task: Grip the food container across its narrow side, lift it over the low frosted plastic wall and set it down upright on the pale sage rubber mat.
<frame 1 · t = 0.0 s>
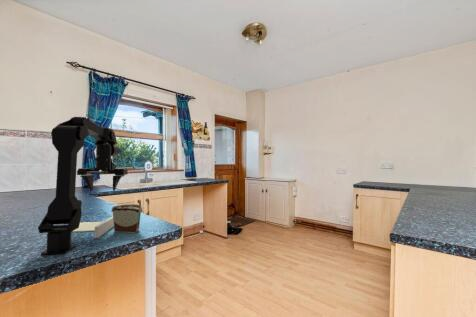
hand: (102, 190, 94), 15 cm above the worktop, tool pointing down, fingers open, 9 cm apart
low wall: (108, 229, 87), on the worktop
food container: (130, 230, 86), on the worktop
resting mat: (88, 227, 89), on the worktop
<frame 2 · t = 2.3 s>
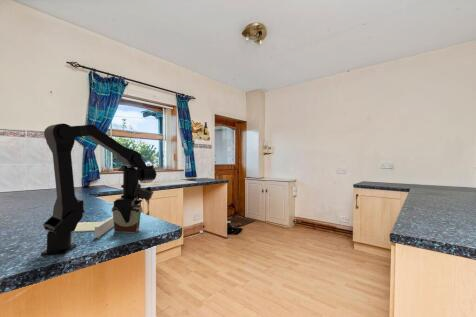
hand: (130, 220, 86), 4 cm above the worktop, tool pointing down, fingers open, 7 cm apart
food container: (130, 230, 86), on the worktop, touching gripper
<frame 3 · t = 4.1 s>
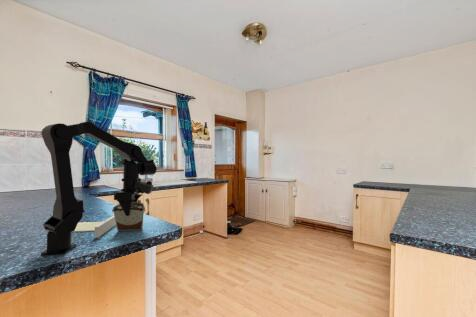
hand: (130, 213, 86), 7 cm above the worktop, tool pointing down, fingers closed on food container, 6 cm apart
food container: (132, 227, 88), point 1 cm above the worktop, touching gripper
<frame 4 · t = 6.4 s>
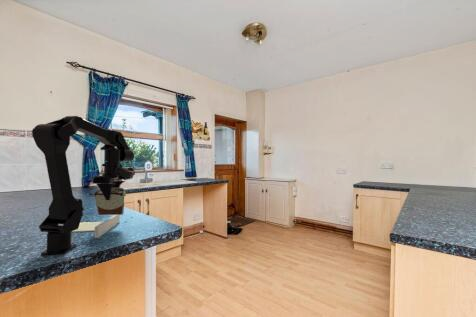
hand: (111, 198, 88), 12 cm above the worktop, tool pointing down, fingers closed on food container, 6 cm apart
food container: (114, 212, 89), point 6 cm above the worktop, touching gripper
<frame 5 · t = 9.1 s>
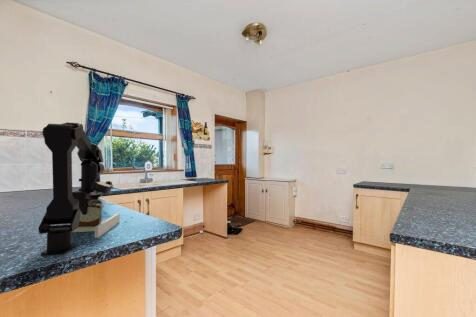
hand: (88, 212, 89), 6 cm above the worktop, tool pointing down, fingers closed on food container, 6 cm apart
food container: (91, 224, 91), point 1 cm above the worktop, touching gripper, resting mat
when the fingers open (6 cm above the worktop, at t = 9.8 s): food container stays where it is, resting on resting mat.
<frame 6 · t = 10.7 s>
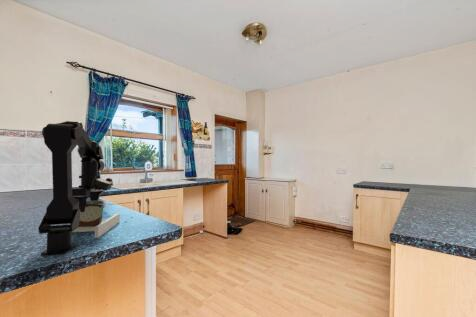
hand: (88, 209, 89), 7 cm above the worktop, tool pointing down, fingers open, 9 cm apart
food container: (91, 225, 91), resting on resting mat
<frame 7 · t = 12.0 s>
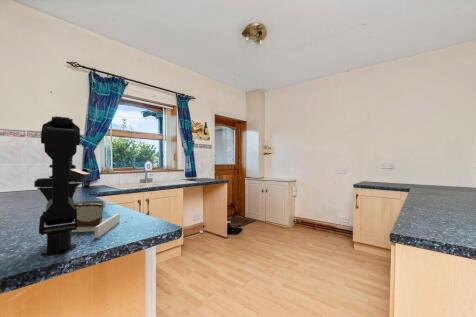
hand: (61, 203, 79), 12 cm above the worktop, tool pointing down, fingers open, 9 cm apart
nothing on the worktop moved.
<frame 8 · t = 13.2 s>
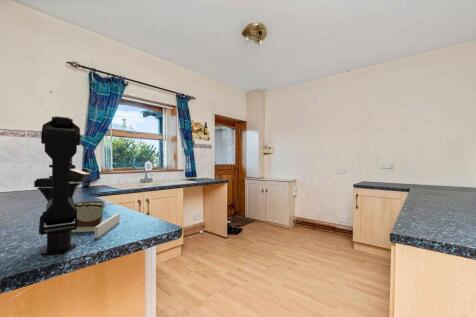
hand: (61, 203, 79), 12 cm above the worktop, tool pointing down, fingers open, 9 cm apart
nothing on the worktop moved.
at the end: food container inside the target area on the resting mat (1.7 cm from its centre), point 0.2 cm above the resting mat's base; food container tilted 0°; the gripper is holding nothing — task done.
